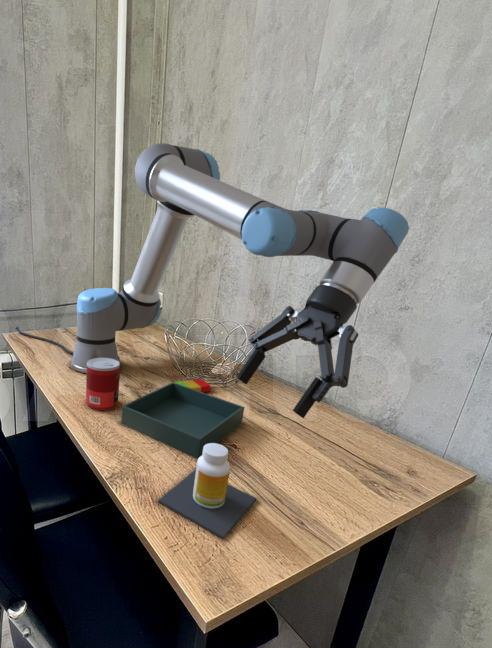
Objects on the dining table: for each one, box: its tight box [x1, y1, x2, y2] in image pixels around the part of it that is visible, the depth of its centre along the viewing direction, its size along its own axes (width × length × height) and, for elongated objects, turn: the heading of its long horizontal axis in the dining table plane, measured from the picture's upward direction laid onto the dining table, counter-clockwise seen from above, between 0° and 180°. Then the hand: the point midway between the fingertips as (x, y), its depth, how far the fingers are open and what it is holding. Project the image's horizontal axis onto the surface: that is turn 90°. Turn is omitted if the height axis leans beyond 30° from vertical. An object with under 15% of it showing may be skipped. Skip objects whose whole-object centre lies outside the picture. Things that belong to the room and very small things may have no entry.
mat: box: [158, 469, 257, 540], centre depth 67 cm, size 12×12×1 cm
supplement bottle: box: [193, 443, 231, 509], centre depth 66 cm, size 5×5×10 cm
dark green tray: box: [120, 381, 245, 460], centre depth 92 cm, size 20×20×4 cm
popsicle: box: [174, 378, 212, 393], centre depth 110 cm, size 6×15×2 cm, turn 114°
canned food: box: [85, 358, 121, 411], centre depth 98 cm, size 8×8×11 cm
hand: (267, 396), depth 70 cm, fingers open, 13 cm apart
